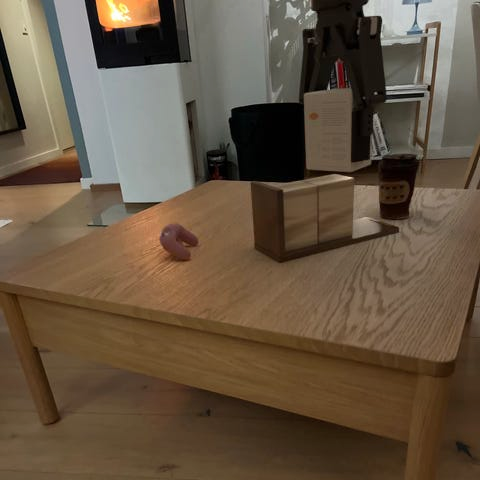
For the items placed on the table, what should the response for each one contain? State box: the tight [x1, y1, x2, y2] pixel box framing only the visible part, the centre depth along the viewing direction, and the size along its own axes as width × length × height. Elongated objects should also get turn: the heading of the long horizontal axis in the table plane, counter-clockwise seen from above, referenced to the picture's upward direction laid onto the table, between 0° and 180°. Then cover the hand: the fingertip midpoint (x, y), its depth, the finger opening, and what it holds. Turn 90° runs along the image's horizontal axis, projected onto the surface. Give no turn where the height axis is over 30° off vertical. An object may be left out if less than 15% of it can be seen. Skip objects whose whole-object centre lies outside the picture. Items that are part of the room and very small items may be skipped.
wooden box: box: [250, 173, 400, 263], centre depth 92 cm, size 10×28×13 cm, turn 116°
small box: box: [303, 87, 373, 173], centre depth 68 cm, size 8×6×10 cm
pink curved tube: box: [158, 221, 199, 261], centre depth 94 cm, size 10×5×7 cm, turn 174°
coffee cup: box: [377, 153, 421, 220], centre depth 103 cm, size 9×8×13 cm
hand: (338, 157), depth 70 cm, fingers closed on small box, 9 cm apart
